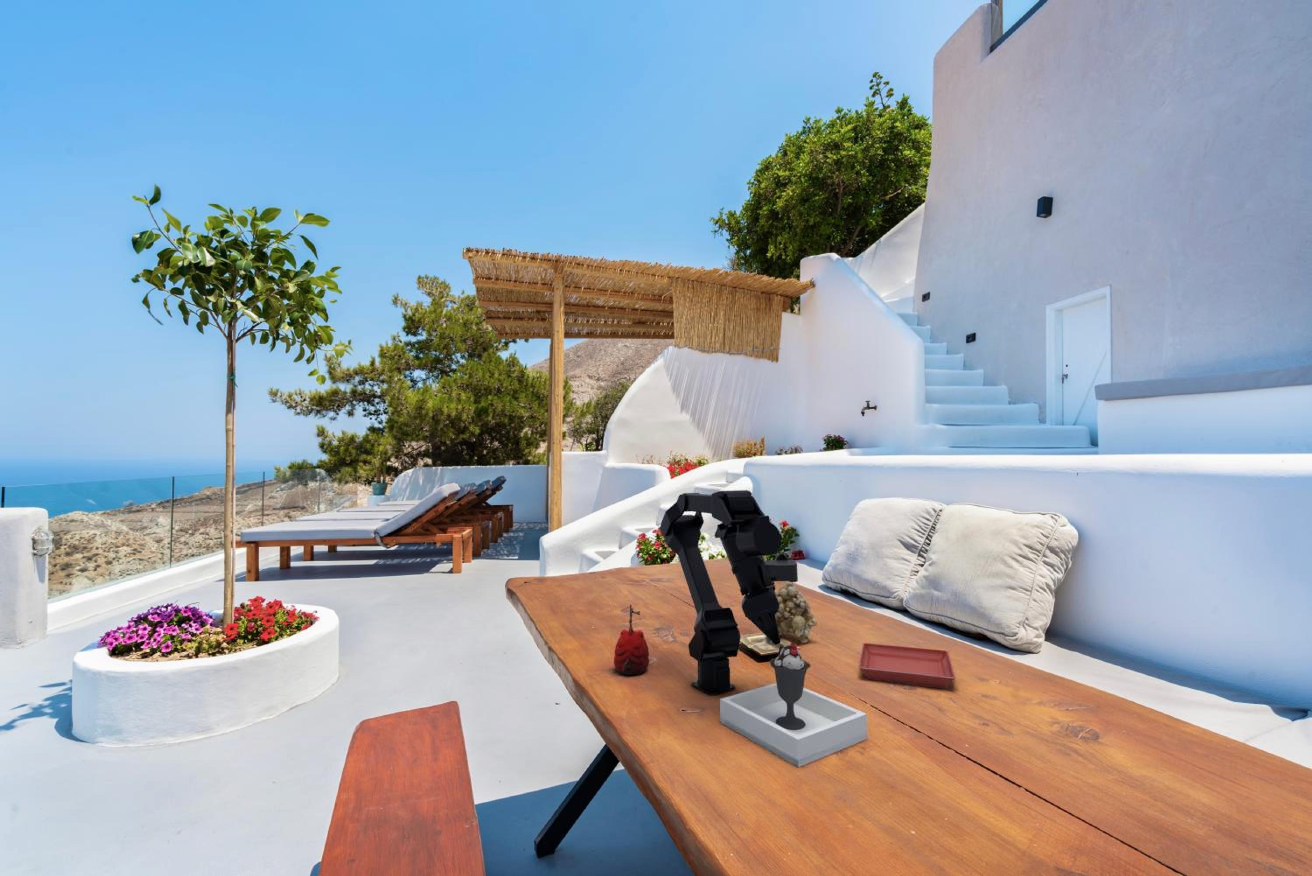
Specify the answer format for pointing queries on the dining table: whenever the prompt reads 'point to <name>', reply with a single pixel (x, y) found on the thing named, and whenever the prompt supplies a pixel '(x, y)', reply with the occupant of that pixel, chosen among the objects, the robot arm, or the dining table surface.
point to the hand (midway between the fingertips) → (776, 635)
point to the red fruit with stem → (631, 651)
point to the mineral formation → (793, 613)
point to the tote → (820, 737)
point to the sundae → (790, 682)
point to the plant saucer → (906, 665)
